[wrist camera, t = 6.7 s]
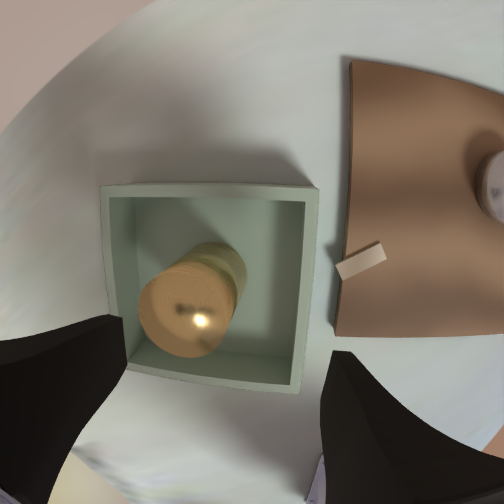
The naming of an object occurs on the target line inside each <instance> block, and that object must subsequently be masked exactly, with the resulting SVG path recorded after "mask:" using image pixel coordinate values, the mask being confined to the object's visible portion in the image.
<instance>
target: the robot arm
mask: <svg viewBox="0 0 504 504" xmlns="http://www.w3.org/2000/svg"><path fill="white" fill-rule="evenodd" d="M127 365H128V363H127V356H126V347H125V338H124V328H123V317H118V316H114V315H110V314H107V315H101V316H97V317H94V318H90V319H87V320H84V321H80V322H77V323H74V324H71V325H68V326H65V327H61V328H58V329H55V330H51V331H47V332H44V333H40V334H36V335H32V336H28V337H23V338H17V339H11V340H3V341H0V504H47V503H48V500H49V497H50V494H51V491H52V489H53V486H54V484H55V482H56V479H57V477H58V474H59V472H60V469H61V468H62V466H63V463H64V462H65V460H66V458H67V455H68V453H69V452H70V450H71V448H72V446H73V444H74V443H75V441H76V439H77V437H78V436H79V434H80V432H81V431H82V430H83V428H84V427H85V425H86V424H87V423H88V421H89V420H90V419H91V417H92V416H93V415H94V414H95V412H96V411H97V410H98V409H99V407H100V406H101V405H102V403H103V402H104V401H105V400H106V398H107V397H108V396H109V394H110V393H111V392H112V391H113V389H114V388H115V386H116V385H117V383H118V382H119V380H120V378H121V376H122V375H123V373H124V371H125V369H126V367H127ZM320 428H321V438H322V447H323V455H321V457H320V460H319V463H318V467H317V470H316V473H315V476H314V480H313V483H312V486H311V489H310V492H309V495H308V498H307V501H306V504H504V459H502V458H499V457H496V456H493V455H489V454H486V453H483V452H481V451H478V450H476V449H473V448H471V447H469V446H466V445H464V444H462V443H460V442H458V441H456V440H454V439H452V438H450V437H448V436H447V435H445V434H443V433H441V432H440V431H438V430H436V429H435V428H433V427H431V426H430V425H428V424H427V423H425V422H424V421H423V420H421V419H420V418H419V417H417V416H416V415H415V414H413V413H412V412H411V411H409V410H408V409H407V408H406V407H404V406H403V405H402V404H401V403H400V402H399V401H398V400H397V399H395V398H394V397H393V396H392V395H391V394H390V393H389V392H388V391H387V390H386V389H385V388H384V387H383V386H382V385H381V384H380V383H379V382H378V381H377V380H376V379H375V378H374V376H373V375H372V374H371V373H370V372H369V371H368V370H367V369H366V368H365V366H364V365H363V364H362V363H361V362H360V361H359V360H358V359H357V357H356V356H355V355H354V354H353V353H352V352H347V351H335V350H333V352H332V356H331V360H330V364H329V368H328V372H327V376H326V380H325V384H324V388H323V391H322V395H321V401H320Z"/></svg>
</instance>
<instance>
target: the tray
mask: <svg viewBox="0 0 504 504" xmlns="http://www.w3.org/2000/svg"><path fill="white" fill-rule="evenodd" d="M318 207H319V189H318V188H316V187H314V186H298V185H278V184H254V183H212V182H159V183H127V184H117V185H108V186H100V210H101V231H102V245H103V258H104V268H105V278H106V286H107V295H108V302H109V309H110V315H114V316H118V317H123V328H124V338H125V347H126V356H127V363H128V365H127V367H126V369H127V370H131V371H136V372H140V373H145V374H150V375H155V376H160V377H165V378H170V379H176V380H181V381H187V382H193V383H200V384H206V385H213V386H221V387H228V388H237V389H245V390H255V391H266V392H278V393H292V394H299V393H300V386H301V379H302V372H303V365H304V357H305V349H306V341H307V333H308V324H309V315H310V306H311V296H312V286H313V275H314V263H315V251H316V238H317V224H318ZM205 242H220V243H223V244H226V245H228V246H230V247H231V248H233V249H234V250H235V251H236V252H237V253H238V254H239V255H240V256H241V258H242V259H243V261H244V263H245V265H246V269H247V284H246V287H245V289H244V292H243V294H242V296H241V299H240V301H239V303H238V305H237V308H236V310H235V312H234V315H233V317H232V319H231V321H230V324H229V326H228V328H227V330H226V333H225V335H224V337H223V339H222V341H221V343H220V344H219V345H218V346H217V348H216V349H214V350H213V351H212V352H210V353H208V354H207V355H204V356H201V357H196V358H184V357H179V356H175V355H172V354H170V353H168V352H166V351H164V350H163V349H161V348H160V347H158V346H157V345H156V344H155V343H154V342H153V341H152V340H151V339H150V338H149V337H148V335H147V334H146V332H145V331H144V329H143V327H142V325H141V322H140V319H139V314H138V301H139V297H140V294H141V292H142V290H143V288H144V287H145V285H146V284H147V283H148V282H149V281H151V280H152V279H153V278H154V277H156V276H157V275H158V274H160V273H161V272H162V271H164V270H165V269H166V268H168V267H169V266H170V265H171V264H173V263H174V262H175V261H177V260H178V259H179V258H181V257H182V256H183V255H185V254H186V253H187V252H189V251H190V250H191V249H193V248H194V247H195V246H197V245H199V244H201V243H205Z"/></svg>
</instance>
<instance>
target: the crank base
mask: <svg viewBox="0 0 504 504" xmlns="http://www.w3.org/2000/svg"><path fill="white" fill-rule="evenodd" d="M349 68H350V152H349V177H348V196H347V211H346V224H345V236H344V247H343V257H342V261H341V262H338V263H336V264H335V265H336V268H337V270H338V272H339V274H340V284H339V292H338V300H337V308H336V315H335V322H334V333H335V336H341V337H391V338H405V337H452V336H474V335H490V334H504V224H503V223H500V222H497V221H494V220H492V219H491V218H489V217H488V216H487V215H486V214H485V213H484V211H483V210H482V208H481V206H480V204H479V202H478V198H477V194H476V174H477V170H478V167H479V165H480V163H481V161H482V159H483V158H484V157H485V156H486V155H487V154H489V153H490V152H493V151H499V150H504V96H502V95H499V94H497V93H494V92H491V91H488V90H485V89H482V88H479V87H476V86H473V85H470V84H467V83H463V82H460V81H456V80H453V79H449V78H445V77H442V76H438V75H434V74H430V73H425V72H421V71H416V70H412V69H407V68H402V67H397V66H391V65H385V64H379V63H373V62H366V61H358V60H352V61H351V63H350V65H349Z"/></svg>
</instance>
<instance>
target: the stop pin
mask: <svg viewBox="0 0 504 504" xmlns="http://www.w3.org/2000/svg"><path fill="white" fill-rule="evenodd" d="M246 284H247V269H246V265H245V263H244V261H243V259H242V258H241V256H240V255H239V254H238V253H237V252H236V251H235V250H234V249H233V248H231V247H230V246H228V245H226V244H223V243H220V242H205V243H201V244H199V245H197V246H195V247H194V248H193V249H191V250H190V251H189V252H187V253H186V254H185V255H183V256H182V257H181V258H179V259H178V260H177V261H175V262H174V263H173V264H171V265H170V266H169V267H168V268H166V269H165V270H164V271H162V272H161V273H160V274H158V275H157V276H156V277H154V278H153V279H152V280H151V281H149V282H148V283H147V284H146V285H145V287H144V288H143V290H142V292H141V294H140V297H139V301H138V314H139V319H140V322H141V325H142V327H143V329H144V331H145V332H146V334H147V335H148V337H149V338H150V339H151V340H152V341H153V342H154V343H155V344H156V345H157V346H158V347H160V348H161V349H163V350H164V351H166V352H168V353H170V354H172V355H175V356H179V357H184V358H196V357H201V356H204V355H207V354H208V353H210V352H212V351H213V350H214V349H216V348H217V346H218V345H219V344H220V343H221V341H222V339H223V337H224V335H225V333H226V330H227V328H228V326H229V324H230V321H231V319H232V317H233V315H234V312H235V310H236V308H237V305H238V303H239V301H240V299H241V296H242V294H243V292H244V289H245V287H246Z"/></svg>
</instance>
